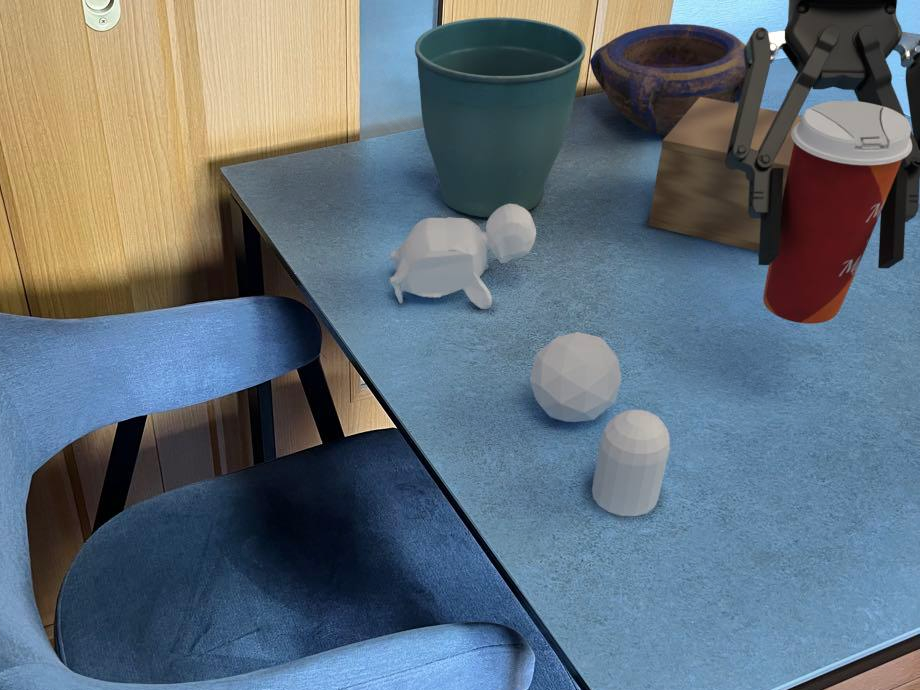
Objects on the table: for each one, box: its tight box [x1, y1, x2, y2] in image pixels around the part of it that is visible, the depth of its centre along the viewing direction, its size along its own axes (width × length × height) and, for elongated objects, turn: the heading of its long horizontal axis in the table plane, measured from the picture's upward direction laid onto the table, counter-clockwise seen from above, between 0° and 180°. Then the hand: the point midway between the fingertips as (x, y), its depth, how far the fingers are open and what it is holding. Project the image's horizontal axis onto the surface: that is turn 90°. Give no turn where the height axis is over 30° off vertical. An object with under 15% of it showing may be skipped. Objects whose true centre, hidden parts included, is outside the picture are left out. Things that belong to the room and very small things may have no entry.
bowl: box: [589, 23, 746, 137], centre depth 131 cm, size 18×18×10 cm
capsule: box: [591, 409, 671, 517], centre depth 81 cm, size 5×5×8 cm
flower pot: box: [414, 16, 587, 218], centre depth 115 cm, size 18×18×17 cm
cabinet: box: [647, 97, 803, 253], centre depth 113 cm, size 15×13×10 cm
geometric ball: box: [529, 331, 622, 423], centre depth 89 cm, size 8×8×8 cm
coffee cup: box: [762, 100, 912, 325], centre depth 79 cm, size 8×8×15 cm
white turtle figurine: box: [389, 204, 537, 310], centre depth 104 cm, size 9×8×15 cm
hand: (829, 261), depth 77 cm, fingers closed on coffee cup, 8 cm apart
